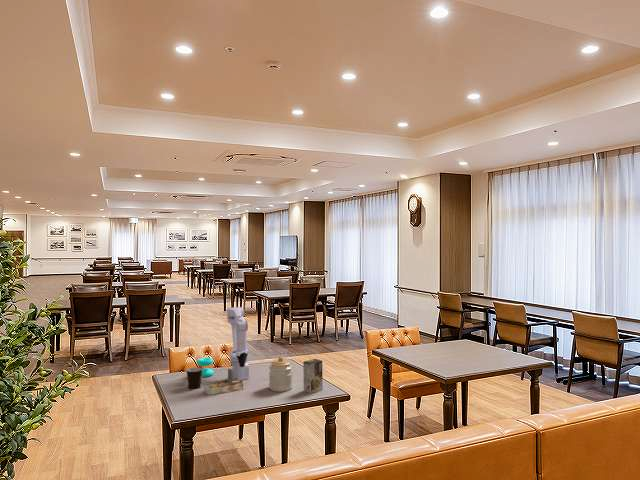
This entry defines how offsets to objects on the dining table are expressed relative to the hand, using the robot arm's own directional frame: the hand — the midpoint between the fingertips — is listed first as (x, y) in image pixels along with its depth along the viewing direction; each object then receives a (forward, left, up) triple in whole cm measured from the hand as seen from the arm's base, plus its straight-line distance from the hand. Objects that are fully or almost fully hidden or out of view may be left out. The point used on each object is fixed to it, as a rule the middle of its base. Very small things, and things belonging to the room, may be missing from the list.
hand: (242, 366), depth 262 cm
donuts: (+11, -31, -11) cm, 34 cm away
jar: (-15, +17, -11) cm, 26 cm away
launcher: (+9, +2, -11) cm, 14 cm away
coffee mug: (+23, -13, -11) cm, 28 cm away
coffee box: (-28, +30, -11) cm, 43 cm away
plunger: (+9, +2, -7) cm, 12 cm away
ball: (+17, +2, -8) cm, 19 cm away
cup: (+18, +2, -11) cm, 21 cm away
